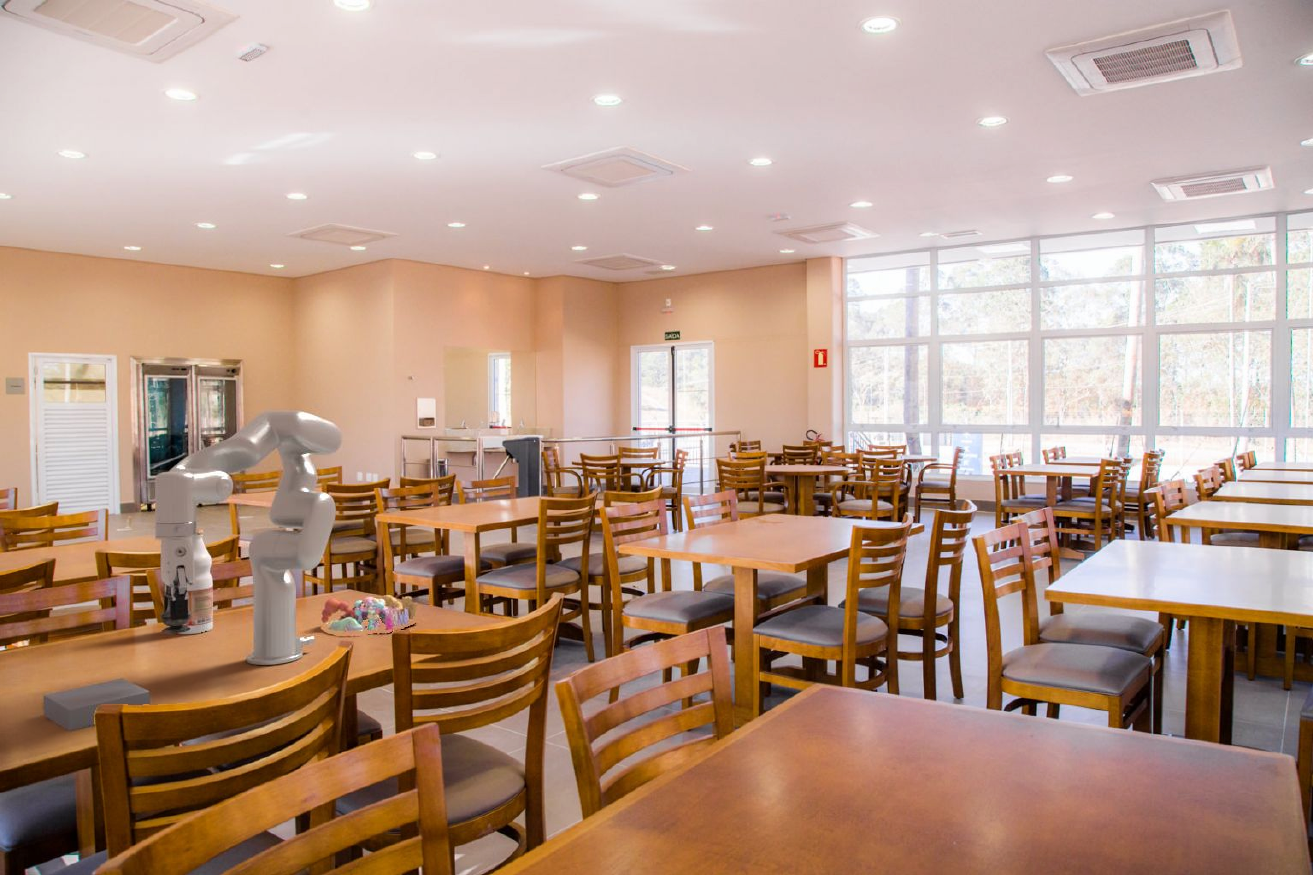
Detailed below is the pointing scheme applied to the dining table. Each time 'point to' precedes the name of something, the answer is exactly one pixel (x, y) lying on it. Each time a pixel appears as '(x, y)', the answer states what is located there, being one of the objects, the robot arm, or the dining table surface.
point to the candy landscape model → (370, 613)
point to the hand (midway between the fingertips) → (176, 615)
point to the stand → (90, 702)
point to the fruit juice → (200, 589)
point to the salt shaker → (174, 624)
